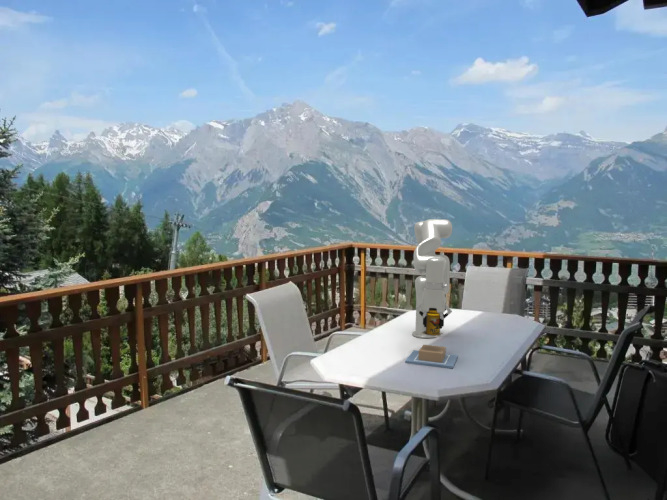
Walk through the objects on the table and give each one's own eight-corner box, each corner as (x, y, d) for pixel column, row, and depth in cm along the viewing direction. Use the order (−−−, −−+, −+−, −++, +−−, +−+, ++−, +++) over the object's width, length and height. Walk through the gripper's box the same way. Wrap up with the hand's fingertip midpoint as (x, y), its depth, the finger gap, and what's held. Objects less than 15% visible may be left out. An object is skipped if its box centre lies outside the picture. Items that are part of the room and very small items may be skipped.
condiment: (437, 337, 216) (438, 309, 215) (418, 334, 220) (419, 307, 219) (443, 333, 222) (444, 306, 221) (424, 330, 226) (425, 304, 225)
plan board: (413, 352, 233) (413, 341, 233) (457, 357, 227) (458, 346, 226) (405, 363, 217) (405, 351, 216) (452, 368, 210) (453, 357, 209)
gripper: (455, 286, 219) (454, 327, 221) (416, 283, 225) (415, 323, 227) (453, 288, 212) (452, 331, 214) (412, 286, 218) (411, 327, 220)
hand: (433, 326), depth 220 cm, fingers closed on condiment, 6 cm apart
